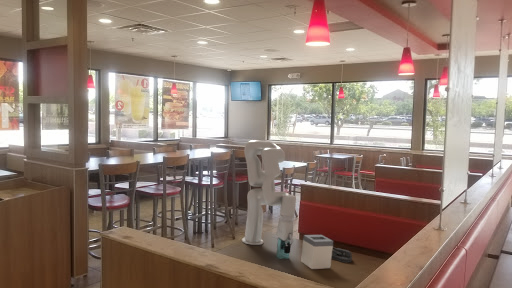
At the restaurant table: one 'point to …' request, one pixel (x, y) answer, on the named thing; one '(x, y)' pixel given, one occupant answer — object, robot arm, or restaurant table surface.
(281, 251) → the teal block
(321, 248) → the white slotted box
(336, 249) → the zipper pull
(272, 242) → the restaurant table surface
